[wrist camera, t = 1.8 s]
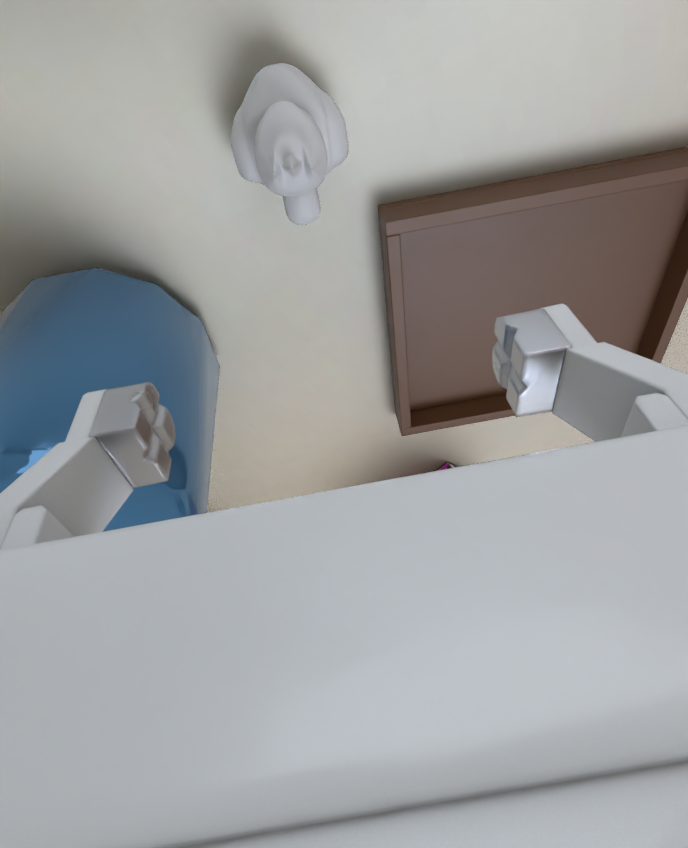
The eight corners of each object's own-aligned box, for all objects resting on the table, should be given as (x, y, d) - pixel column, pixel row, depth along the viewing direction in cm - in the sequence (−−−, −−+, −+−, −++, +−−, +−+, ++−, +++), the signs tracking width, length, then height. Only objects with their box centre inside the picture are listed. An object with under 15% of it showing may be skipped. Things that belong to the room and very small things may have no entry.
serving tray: (377, 204, 28) (385, 222, 27) (717, 140, 28) (747, 154, 26) (396, 415, 41) (401, 436, 39) (633, 372, 40) (649, 391, 39)
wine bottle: (-31, 249, 27) (-971, 1305, 6) (216, 265, 30) (115, 1077, 9) (40, 425, 37) (-248, 1085, 16) (224, 426, 39) (183, 1003, 18)
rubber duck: (330, 43, 23) (353, 82, 17) (350, 189, 28) (373, 257, 22) (215, 67, 23) (201, 113, 17) (254, 208, 28) (253, 280, 22)
